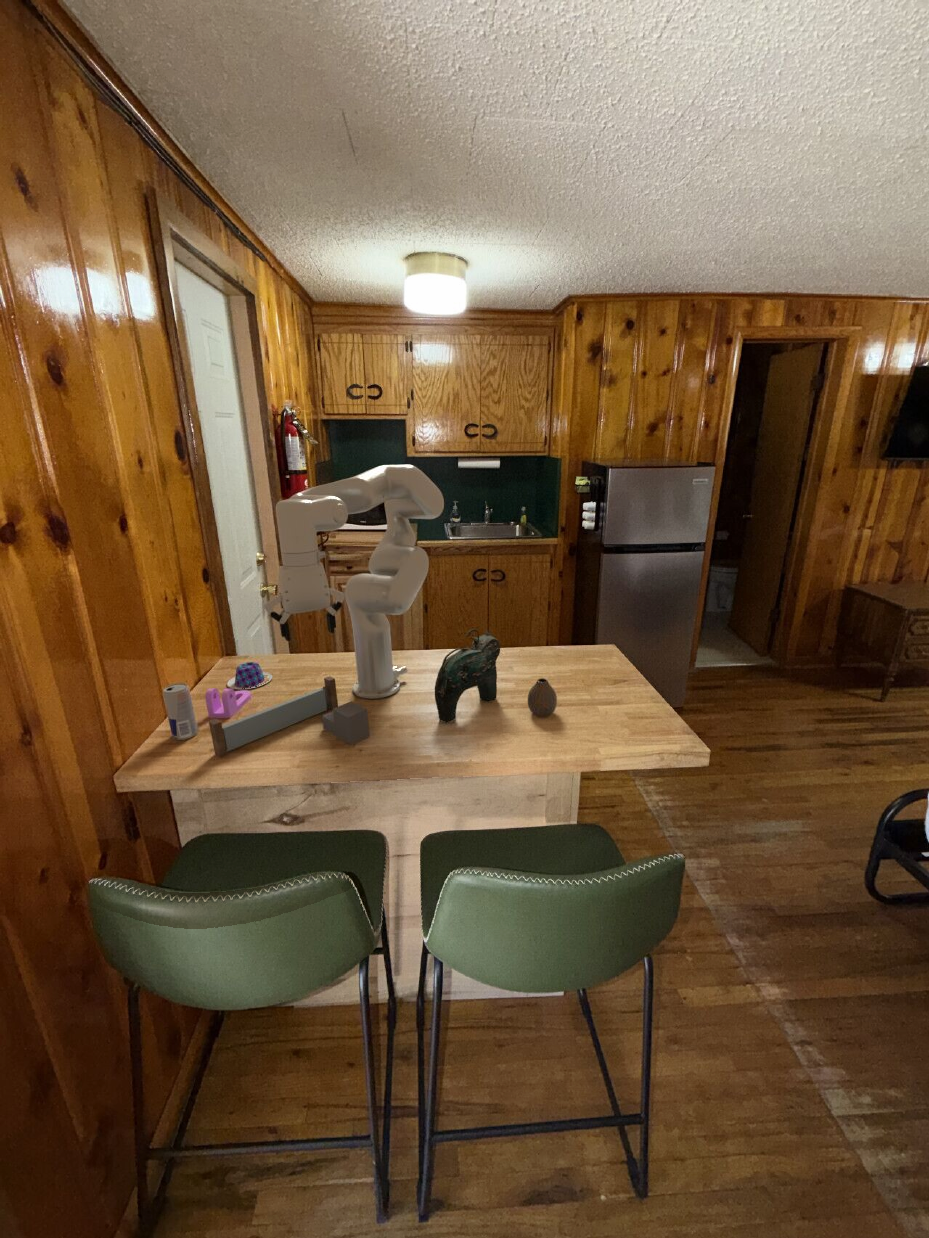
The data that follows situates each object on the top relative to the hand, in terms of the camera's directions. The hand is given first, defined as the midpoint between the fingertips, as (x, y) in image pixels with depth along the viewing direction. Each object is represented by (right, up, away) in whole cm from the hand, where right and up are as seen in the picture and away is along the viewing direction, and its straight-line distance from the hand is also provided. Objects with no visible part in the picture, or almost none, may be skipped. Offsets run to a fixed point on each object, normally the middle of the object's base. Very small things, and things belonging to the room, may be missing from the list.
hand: (309, 635), depth 119 cm
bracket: (-25, -19, +19) cm, 37 cm away
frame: (-9, -22, +7) cm, 25 cm away
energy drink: (-30, -23, +6) cm, 39 cm away
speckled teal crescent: (+36, -19, +14) cm, 43 cm away
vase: (+53, -19, +10) cm, 57 cm away
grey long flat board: (-8, -22, +7) cm, 24 cm away
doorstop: (+7, -23, +4) cm, 24 cm away
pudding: (-26, -15, +34) cm, 45 cm away
